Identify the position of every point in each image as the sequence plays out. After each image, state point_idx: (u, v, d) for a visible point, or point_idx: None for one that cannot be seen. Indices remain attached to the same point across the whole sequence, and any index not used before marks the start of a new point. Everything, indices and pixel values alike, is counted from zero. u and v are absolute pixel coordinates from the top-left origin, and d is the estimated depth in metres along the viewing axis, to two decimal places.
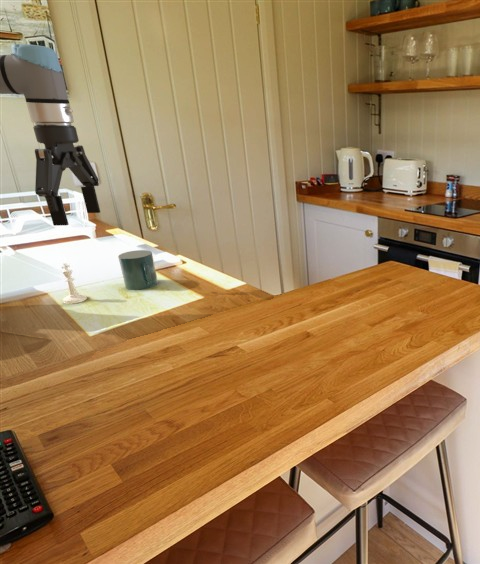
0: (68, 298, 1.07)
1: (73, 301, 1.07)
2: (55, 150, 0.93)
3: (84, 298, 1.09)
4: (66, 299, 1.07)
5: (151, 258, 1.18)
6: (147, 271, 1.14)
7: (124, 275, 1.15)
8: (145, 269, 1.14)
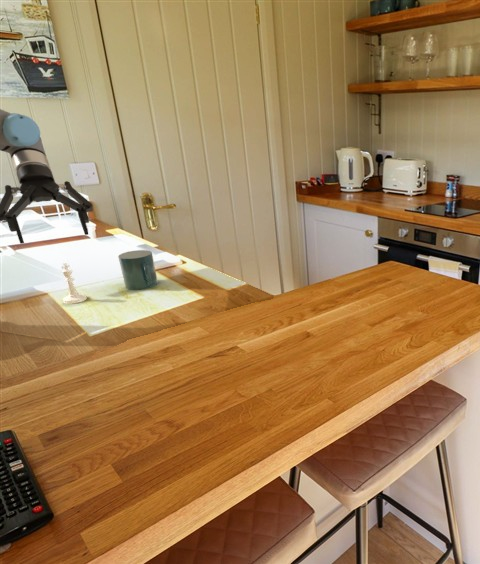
0: (68, 298, 1.07)
1: (73, 301, 1.07)
2: None
3: (84, 298, 1.09)
4: (66, 299, 1.07)
5: (151, 258, 1.18)
6: (147, 271, 1.14)
7: (124, 275, 1.15)
8: (145, 269, 1.14)
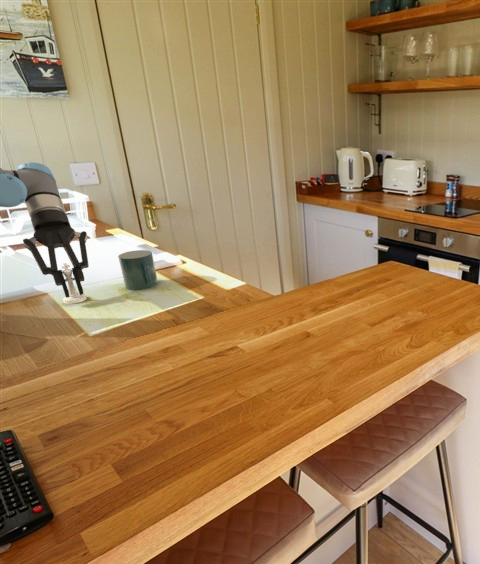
0: (68, 298, 1.07)
1: (73, 301, 1.07)
2: None
3: (84, 298, 1.09)
4: (66, 299, 1.07)
5: (151, 258, 1.18)
6: (147, 271, 1.14)
7: (124, 275, 1.15)
8: (145, 269, 1.14)
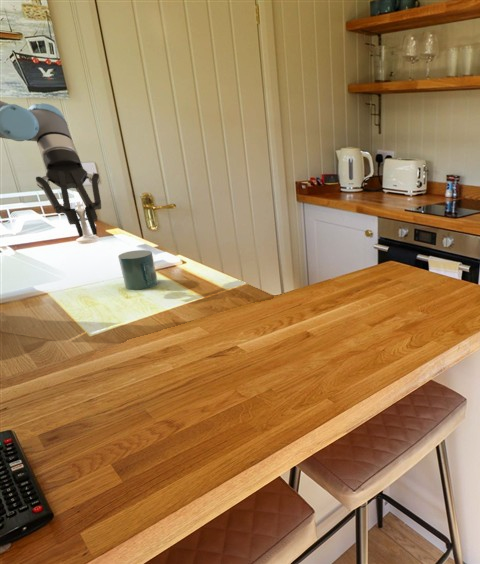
0: (81, 238, 1.06)
1: (86, 241, 1.06)
2: None
3: (97, 239, 1.08)
4: (79, 239, 1.06)
5: (151, 258, 1.18)
6: (147, 271, 1.14)
7: (124, 275, 1.15)
8: (145, 269, 1.14)
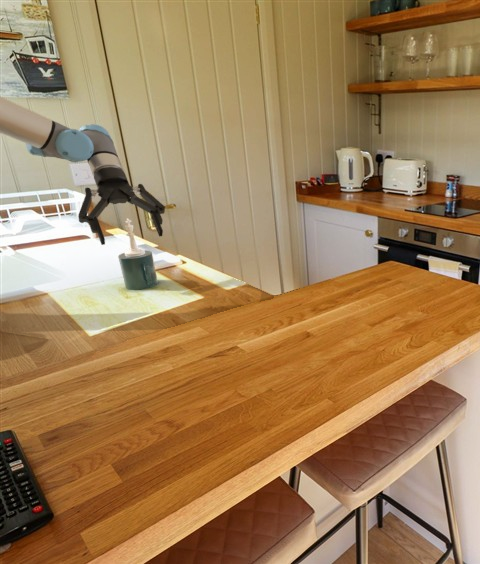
0: (129, 252, 1.15)
1: (134, 254, 1.15)
2: None
3: (143, 252, 1.17)
4: (127, 252, 1.15)
5: (151, 258, 1.18)
6: (147, 271, 1.14)
7: (124, 275, 1.15)
8: (145, 269, 1.14)
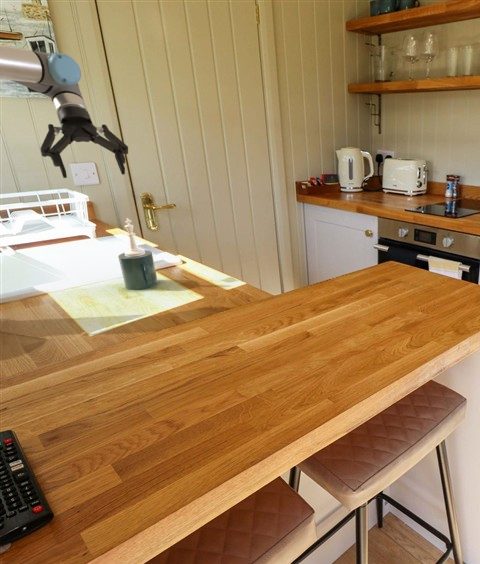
0: (129, 252, 1.15)
1: (134, 254, 1.15)
2: None
3: (143, 252, 1.17)
4: (127, 252, 1.15)
5: (151, 258, 1.18)
6: (147, 271, 1.14)
7: (124, 275, 1.15)
8: (145, 269, 1.14)
